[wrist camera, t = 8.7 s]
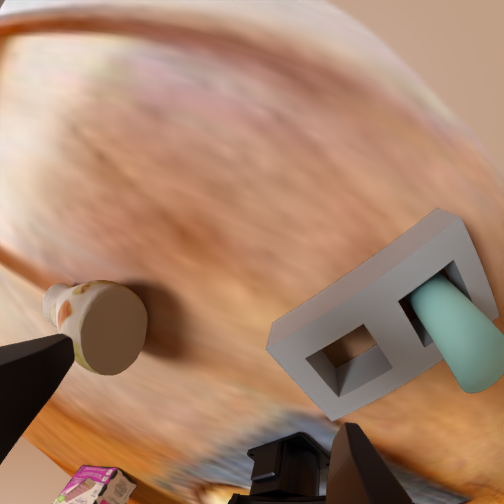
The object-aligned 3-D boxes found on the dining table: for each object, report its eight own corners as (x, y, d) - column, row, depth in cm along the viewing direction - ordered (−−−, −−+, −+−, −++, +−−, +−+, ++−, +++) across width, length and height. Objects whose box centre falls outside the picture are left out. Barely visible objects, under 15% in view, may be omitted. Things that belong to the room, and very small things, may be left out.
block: (478, 296, 18) (499, 316, 15) (330, 391, 22) (332, 421, 19) (437, 208, 17) (460, 216, 14) (272, 322, 21) (265, 349, 18)
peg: (445, 288, 19) (516, 365, 9) (413, 311, 19) (466, 403, 10) (429, 255, 18) (506, 323, 9) (395, 280, 19) (451, 366, 10)
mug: (54, 260, 24) (11, 277, 15) (150, 272, 27) (150, 296, 18) (53, 335, 25) (19, 380, 15) (145, 347, 28) (146, 399, 18)
